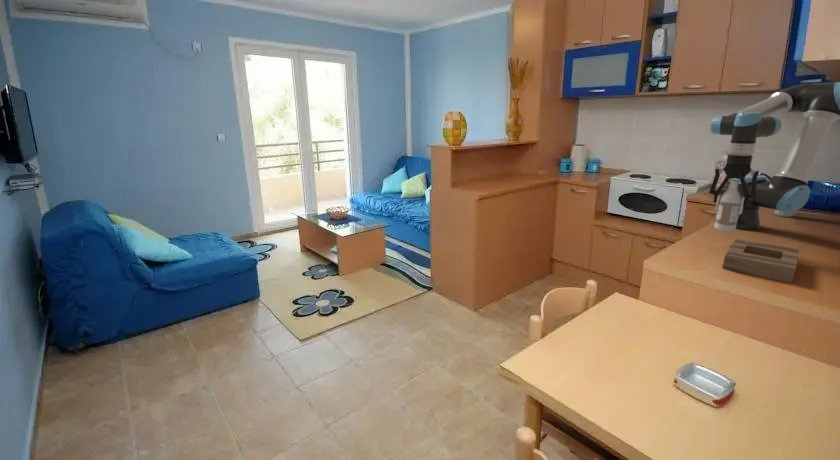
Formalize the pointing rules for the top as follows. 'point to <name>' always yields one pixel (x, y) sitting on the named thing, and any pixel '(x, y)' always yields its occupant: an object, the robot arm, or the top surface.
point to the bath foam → (728, 208)
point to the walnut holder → (762, 260)
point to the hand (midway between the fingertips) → (728, 212)
